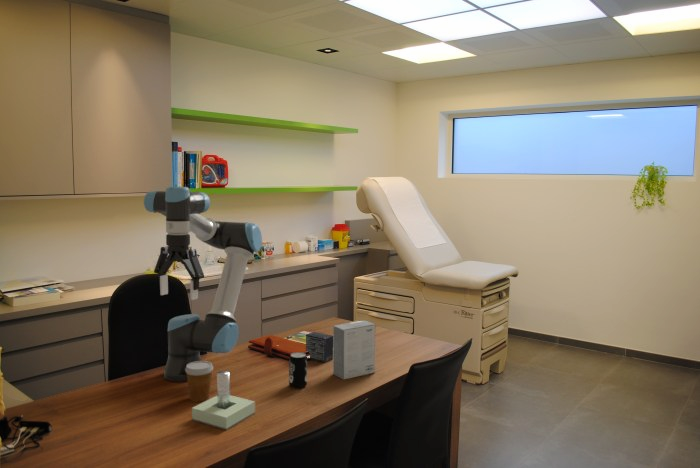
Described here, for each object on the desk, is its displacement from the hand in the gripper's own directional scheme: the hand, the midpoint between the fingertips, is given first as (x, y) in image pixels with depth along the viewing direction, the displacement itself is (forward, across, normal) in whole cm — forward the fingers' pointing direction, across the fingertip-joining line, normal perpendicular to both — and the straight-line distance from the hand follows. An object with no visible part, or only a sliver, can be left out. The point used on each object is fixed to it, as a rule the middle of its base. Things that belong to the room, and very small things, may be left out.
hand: (179, 296), depth 184 cm
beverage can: (+37, +26, +33) cm, 56 cm away
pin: (+36, +20, -1) cm, 41 cm away
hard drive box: (+37, +38, +55) cm, 76 cm away
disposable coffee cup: (+37, +3, +6) cm, 38 cm away
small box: (+37, +17, +63) cm, 75 cm away
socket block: (+37, +20, -1) cm, 42 cm away
